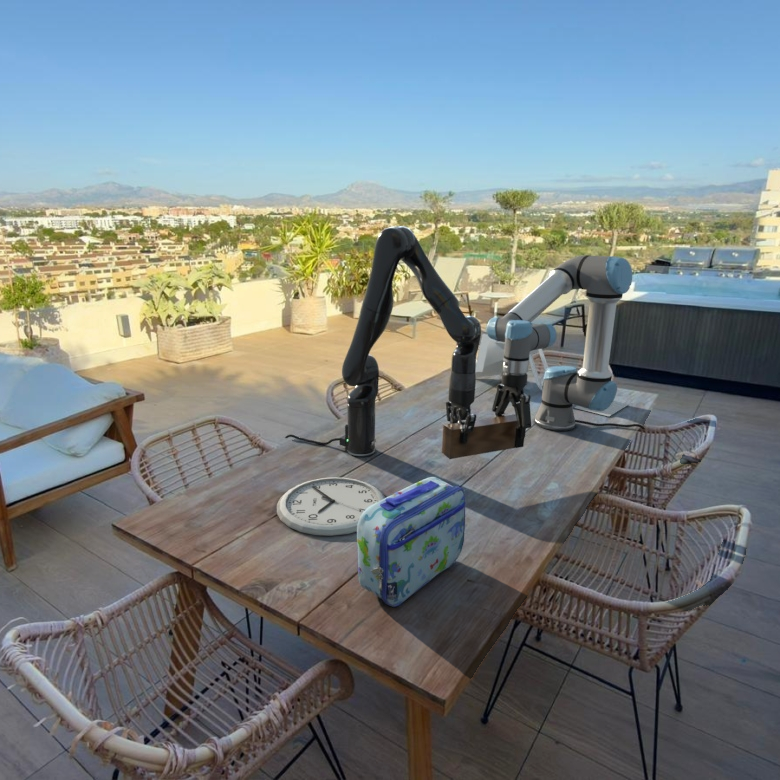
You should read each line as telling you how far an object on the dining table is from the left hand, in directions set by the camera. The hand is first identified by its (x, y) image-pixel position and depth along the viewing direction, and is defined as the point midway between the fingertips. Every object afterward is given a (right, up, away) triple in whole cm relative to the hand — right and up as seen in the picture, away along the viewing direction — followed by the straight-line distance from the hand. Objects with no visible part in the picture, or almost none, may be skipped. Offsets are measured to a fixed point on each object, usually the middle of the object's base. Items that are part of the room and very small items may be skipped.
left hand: (458, 439), depth 156 cm
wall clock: (-36, -17, -14) cm, 42 cm away
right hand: (+17, -1, +8) cm, 19 cm away
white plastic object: (+36, +18, +100) cm, 107 cm away
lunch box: (-16, -26, -43) cm, 53 cm away
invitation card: (+71, +8, +70) cm, 100 cm away
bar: (+8, -3, +5) cm, 10 cm away
